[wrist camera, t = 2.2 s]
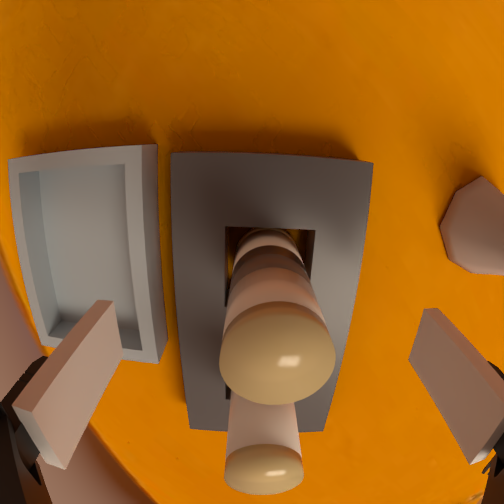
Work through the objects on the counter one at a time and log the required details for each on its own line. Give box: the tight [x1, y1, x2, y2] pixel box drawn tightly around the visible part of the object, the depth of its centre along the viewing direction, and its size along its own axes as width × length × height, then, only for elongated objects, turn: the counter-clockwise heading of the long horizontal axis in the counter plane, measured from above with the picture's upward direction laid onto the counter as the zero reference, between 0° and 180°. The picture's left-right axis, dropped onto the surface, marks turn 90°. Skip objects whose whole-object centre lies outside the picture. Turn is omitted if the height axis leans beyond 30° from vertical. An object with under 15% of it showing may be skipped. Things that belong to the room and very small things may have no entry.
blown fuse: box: [219, 227, 336, 405], centre depth 16 cm, size 4×4×11 cm
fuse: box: [224, 390, 304, 495], centre depth 18 cm, size 4×4×11 cm
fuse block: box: [171, 151, 373, 432], centre depth 21 cm, size 21×11×2 cm, turn 178°
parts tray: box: [8, 144, 168, 364], centre depth 19 cm, size 14×10×3 cm
